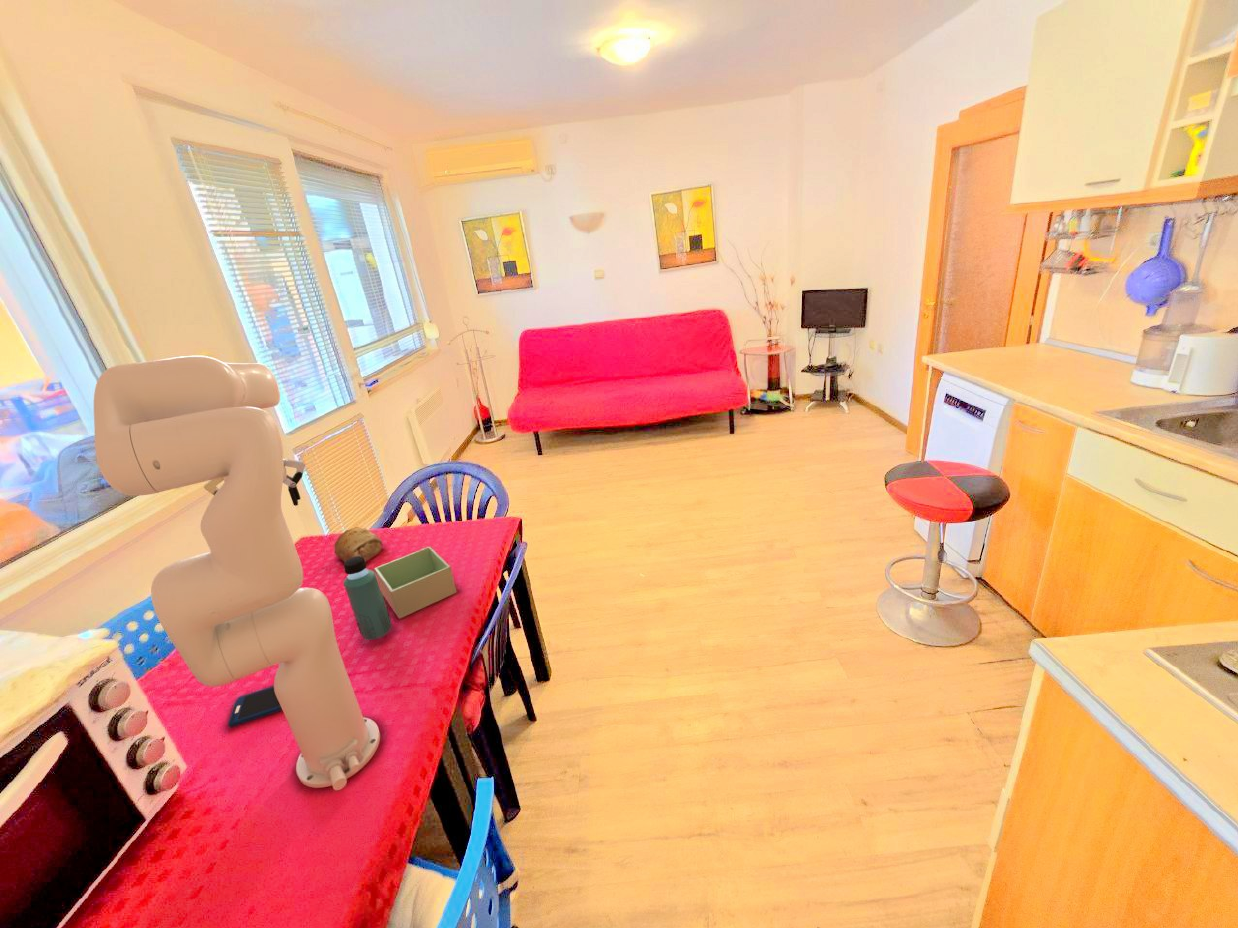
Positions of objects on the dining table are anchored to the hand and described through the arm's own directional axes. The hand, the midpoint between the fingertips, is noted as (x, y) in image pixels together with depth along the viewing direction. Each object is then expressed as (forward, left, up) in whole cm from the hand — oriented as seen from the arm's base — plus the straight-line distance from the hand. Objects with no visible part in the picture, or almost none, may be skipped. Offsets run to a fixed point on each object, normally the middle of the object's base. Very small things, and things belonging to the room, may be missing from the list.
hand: (269, 510), depth 106 cm
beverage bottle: (-14, -11, -31) cm, 36 cm away
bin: (-4, -23, -31) cm, 39 cm away
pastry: (+29, -17, -31) cm, 46 cm away
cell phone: (-19, +10, -31) cm, 38 cm away
